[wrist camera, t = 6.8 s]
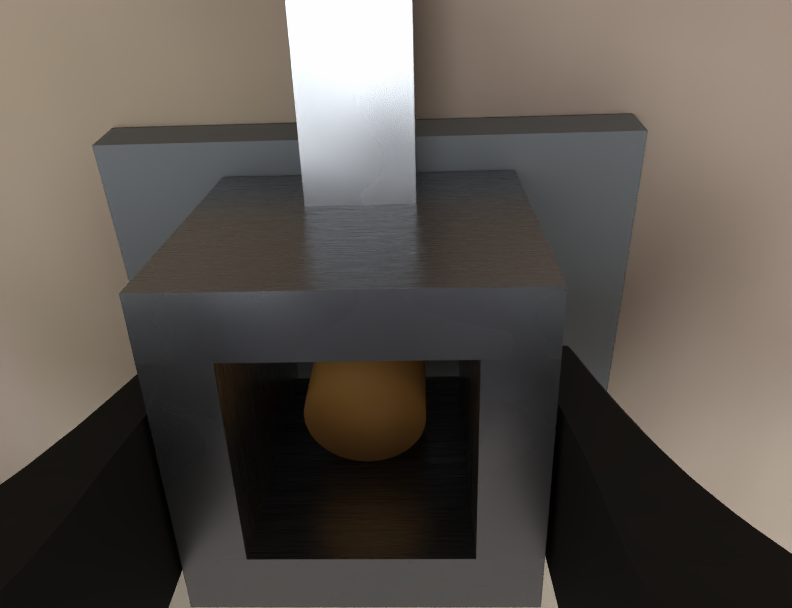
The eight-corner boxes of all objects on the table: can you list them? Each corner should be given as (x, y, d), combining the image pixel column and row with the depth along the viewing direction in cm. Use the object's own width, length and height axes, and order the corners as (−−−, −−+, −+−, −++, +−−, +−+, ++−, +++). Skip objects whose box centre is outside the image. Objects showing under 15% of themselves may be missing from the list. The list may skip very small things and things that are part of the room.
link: (257, 417, 15) (191, 607, 11) (186, -67, 11) (32, -81, 7) (504, 415, 15) (540, 607, 11) (526, -80, 11) (600, -105, 7)
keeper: (182, 406, 17) (116, 558, 14) (112, 128, 14) (-5, 229, 10) (591, 401, 17) (643, 557, 13) (632, 113, 13) (720, 213, 9)
